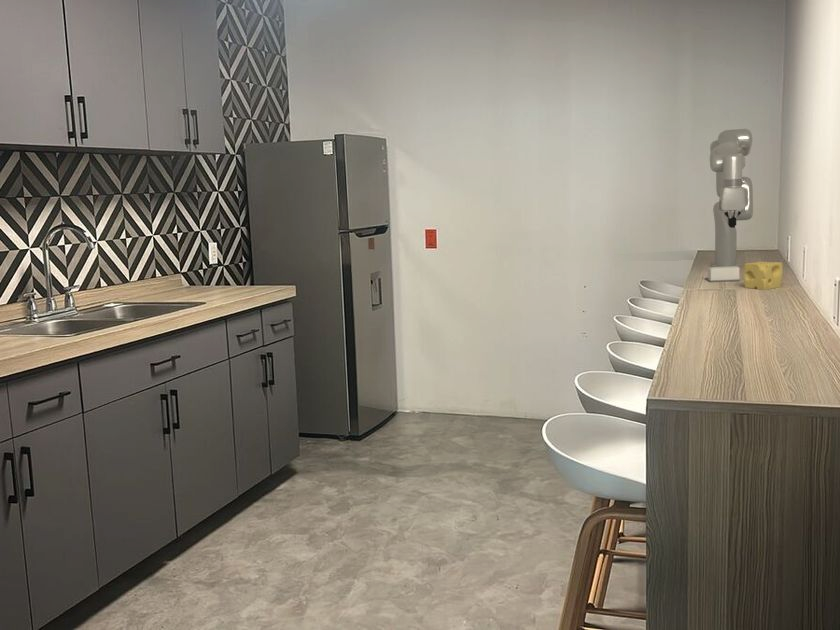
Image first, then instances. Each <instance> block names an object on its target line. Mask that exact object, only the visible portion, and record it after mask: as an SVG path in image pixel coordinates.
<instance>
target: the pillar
mask: <svg viewBox="0 0 840 630" xmlns="http://www.w3.org/2000/svg"><path fill="white" fill-rule="evenodd" d="M707 268H708V269H707V272H708V274H707V278H708V279H709V280H735V279H738V280H741V266H740V267H738V266H732V267H712V266H711V267H707Z"/></svg>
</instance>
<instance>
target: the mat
mask: <svg viewBox="0 0 840 630" xmlns="http://www.w3.org/2000/svg"><path fill="white" fill-rule="evenodd" d="M704 280H705V281H707V282H709V283H725V282H726V283H727V282H730V283H731V282H740V279H735V280H709V279H708V277H706V278H704Z"/></svg>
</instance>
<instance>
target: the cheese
mask: <svg viewBox="0 0 840 630" xmlns="http://www.w3.org/2000/svg"><path fill="white" fill-rule="evenodd" d="M743 271H744V273H743V274H744V278H743V283H744V288H747V289H757V290H761V291H765V290H771V289H778V288H779V287H780V288H781V286H782V282H783V275H784V274H783V273H784V272H783V263H782V262H780V261H779V262H778V261H776V262H775V261H773V262H772V261H756V262H749V263H744V269H743Z"/></svg>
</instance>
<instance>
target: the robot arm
mask: <svg viewBox="0 0 840 630" xmlns="http://www.w3.org/2000/svg"><path fill="white" fill-rule="evenodd" d="M752 145H753V135H752V132H751V130H749V129H748V128H738V129H737V128H736V129H726V130H723V131H721V132H720V133H719V134H718V137H717V139H715V140H714V141H712V142H711V144H710V148H709V149H710V154H709V166H710V170H711V171H712V172H713V173H715V186H716V195H717V197H719V200H718V201H717V202H715V203H714V204H713V210H712V213H713V219H714V232H715V237H714V238H715V239H714V257H715V258H714V264H711V267H732V266H738V267H740V268H741V265H740V264H739V263H737V241H738V240H737V239H738V238H737V235H738V234H737V229H736V226H737V221H748V220H751V219H752V217H753V215H754V196H753V195H754V193H753V192H754V191H753V189H754V188H753V182H752V180H751V178H750V177H748V176H743V169H744V168H745V167H746V163H747V162H746V157H747V156H748V155H749V154H750V152H751V149H752Z"/></svg>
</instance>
